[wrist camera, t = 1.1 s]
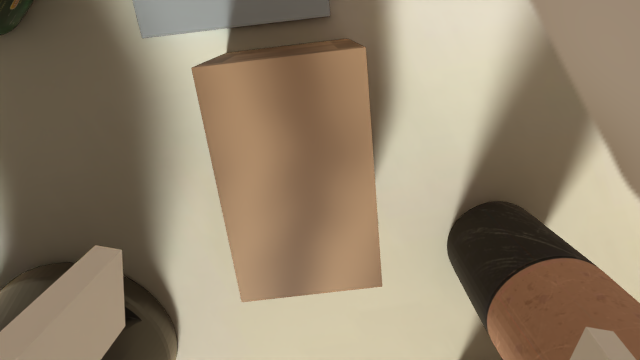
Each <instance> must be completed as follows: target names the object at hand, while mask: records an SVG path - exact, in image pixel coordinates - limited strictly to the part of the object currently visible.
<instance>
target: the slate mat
mask: <svg viewBox="0 0 640 360" xmlns="http://www.w3.org/2000/svg"><path fill="white" fill-rule="evenodd" d="M133 4H134V8H135V12H136V16H137V20H138V24H139V28H140V32H141V36H142V38H149V37H157V36H165V35H174V34H182V33H190V32H199V31H207V30H216V29H224V28H232V27H241V26H249V25H258V24H266V23H274V22H283V21H291V20H300V19H308V18H316V17H325V16H330V6H329V0H133Z"/></svg>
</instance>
